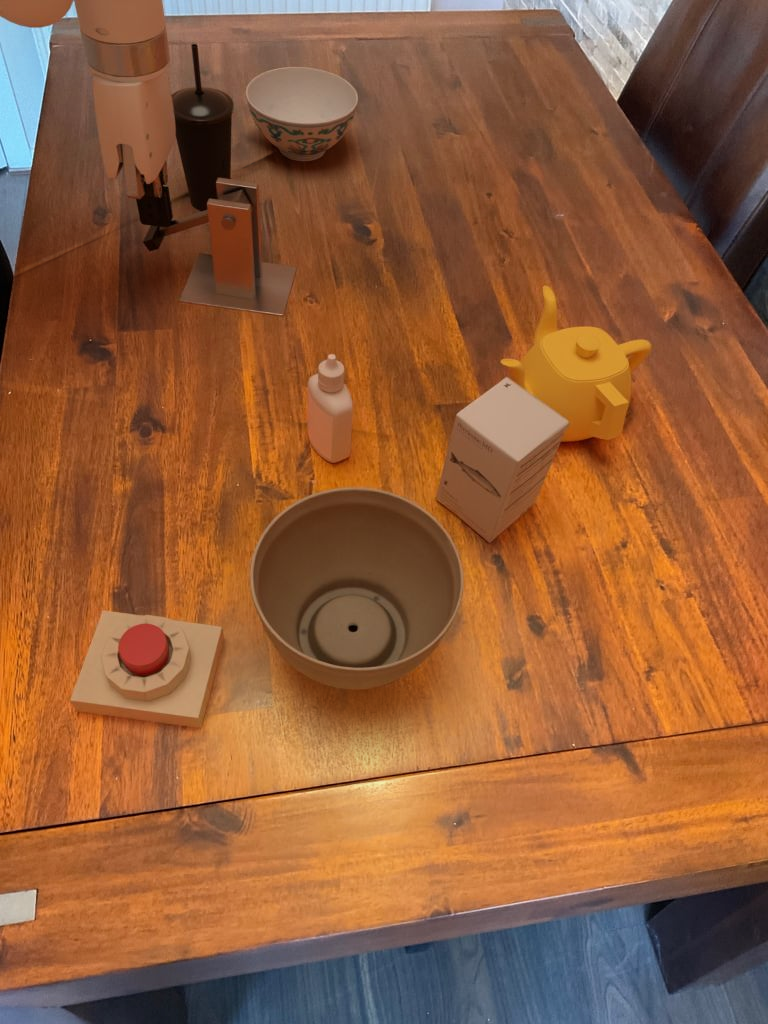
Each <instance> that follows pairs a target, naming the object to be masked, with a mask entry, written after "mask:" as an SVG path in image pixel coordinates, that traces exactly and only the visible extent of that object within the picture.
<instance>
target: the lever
mask: <svg viewBox="0 0 768 1024" xmlns="http://www.w3.org/2000/svg"><path fill="white" fill-rule="evenodd" d="M219 200H224V201H231V202H238V203H245V204H250V203H249V201H248V199H247V198H246V196H245V194H244V192H243V190H239V191H236V192H233V193H230V194H226V195H223V196H220V198H219ZM251 212H252V207H251ZM207 224H209V220H208V210H205V211H202V212H201V211H198V212H196V213H192V214H190V215H186V216H183V217H179V218H177V219H172V221H171V222H170V225H169V227H167V228H165V227H158V226H150V225H149V228H148V230H147V232H146V234H145V237H144V238H143V240H142V243H143V245H144V246H145V248H146V249H147V250H148V252H153V251H157V250H159V249H160V247H161V246H162V243H163V242H164V238H165V237H168V236H171V235H175V234H177V233H182V232H183V231H187V230H191V229H193V228H198V227H201V226H204V225H207Z"/></svg>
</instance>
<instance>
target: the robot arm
mask: <svg viewBox="0 0 768 1024" xmlns="http://www.w3.org/2000/svg"><path fill="white" fill-rule="evenodd" d="M73 3H74V7H75V12H76V17H77V21H78V26H79V31H80V36H81V40H82V44H83V45H82V46H83V49H84V53H85V54H84V55H85V58H86V63H87V68H88V70H90V72H91V73H92V74H93V75H92V94H93V107H94V114H95V115H94V116H95V123H96V128H97V136H98V142H99V146H100V147H99V148H100V153H101V157H102V164H103V169H104V173H105V175H106V177H107V178H108V179H109V180H116V179H118V176H119V174H120V172H121V171H122V169H123V174H124V183H125V184H124V185H125V190H126V191H125V193H126V197H127V198H128V199H135V202H136V206H137V211H138V216H139V217H138V218H139V222H140V223H141V224H142V225H144V226H149V227H150V226H158V227H165V228H167V227H169V225H170V222H171V221H173V218H174V215H173V208H172V201H171V196H170V189H169V186H167V185H168V182H169V175H168V165H167V164H168V163H167V159H168V157H169V156H170V154H171V153H170V152H171V150H172V148H173V146H174V144H175V140H176V127H175V116H174V109H173V102H172V96H171V95H172V92H171V91H172V90H171V86H170V81H169V75H168V71H169V69H170V68H171V65H172V64H171V63H172V62H171V55H170V54H171V53H170V48H169V40H168V39H169V38H168V33H167V32H168V31H167V25H166V17H165V8H164V2H163V0H0V17H1V18H3V19H4V20H6V21H8V22H10V23H11V24H15V25H17V26H19V27H26V28H31V29H36V28H37V29H38V28H39V29H41V28H45V27H46V28H47V27H49V26H52V25H54V24H56V23H58V22H60V21H61V20H62V19H63V18H64V17H65V16H67V14H68V12H69V11H70V9H71V8H72V6H73Z"/></svg>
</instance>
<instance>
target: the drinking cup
mask: <svg viewBox="0 0 768 1024" xmlns="http://www.w3.org/2000/svg"><path fill="white" fill-rule="evenodd" d="M190 45H191V55H192V64H193V65H192V66H193V75H194V84H195V85H194V86H192V87H185V88H182V89H179V90H177V91H175V92H173V93H171V96H172V102H173V109H174V116H175V127H176V136H175V140H176V143H177V148H178V152H179V158H180V161H181V165H182V170H183V175H184V178H185V183H186V188H187V192H188V196H189V201H190V204H191V206H192V207H193V208H194V209H195V210H197V211H198V212H202V211H205V210H207V202H208V200H209V199H216V200H218V199H217V189H216V181H217V179H218V178H225V179H231V177H232V176H231V175H232V173H231V171H232V122H233V121H232V119H233V118H232V117H233V116H232V115H233V113H234V110H235V103H234V101H233V99H232V97H231V96H230V95H229V94H227V93H226V92H224V91H222V90H219V89H217V88H213V87H207V86H202V76H201V75H202V74H201V67H200V56H199V46H198V44H196V43H192V44H190Z"/></svg>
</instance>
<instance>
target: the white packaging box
mask: <svg viewBox="0 0 768 1024" xmlns="http://www.w3.org/2000/svg"><path fill="white" fill-rule="evenodd" d="M568 425H569V421H568V420H567V419H565V418H564V417H562V416H561V415H560V414H558V413H557V412H555V411H554V410H553V409H551V408H550V407H548V406H547V405H546V404H544V403H543V402H541V401H540V400H539V399H538V398H536V397H535V396H533V395H532V394H530V393H529V392H527V391H526V390H524V389H523V388H522V387H520V386H519V385H518V384H516V383H515V382H513V381H512V380H511V379H510V378H509V376H505V377H504V378H503V379H502V380H499V382H498V383H496V384H495V385H493V386H492V387H491V388H490V389H488V390H487V391H485V392H484V393H482V394H481V395H480V396H479V397H477V398H476V399H474V400H473V401H472V402H470V403H469V404H468V405H466V406H465V407H464V408H463V409H461V410H459V411H458V412H457V413H456V415H455V419H454V422H453V427H452V431H451V435H450V438H449V442H448V447H447V450H446V455H445V459H444V463H443V467H442V471H441V475H440V480H439V483H438V488H437V492H436V496H435V500H436V501H437V502H438V503H440V504H441V505H443V506H444V507H445V508H447V509H448V510H449V511H450V512H452V513H453V514H455V515H456V516H457V517H458V518H459V519H460V520H462V521H463V522H464V523H465V524H466V525H467V526H469V527H470V528H471V529H472V530H474V531H475V532H476V534H478V535H479V536H480V537H481V538H483V539H484V540H485V541H486V542H487V543H488V544H491V543H492V542H493V541H495V539H496V538H498V537H499V536H500V535H501V534H502V533H503V532H504V531H506V530H507V529H508V528H509V527H511V525H513V524H514V523H515V522H516V521H517V520H519V518H521V517H522V516H523V515H525V513H526V512H527V511H529V510H530V509H531V508H532V507H533V506H534V505H535V503H536V501H537V499H538V497H539V494H540V492H541V490H542V488H543V485H544V483H545V481H546V478H547V475H548V474H549V472H550V469H551V466H552V464H553V462H554V458H555V457H556V454H557V452H558V449H559V447H560V444H561V443H562V442H561V440H562V437H563V435H564V433H565V431H566V429H567V427H568Z"/></svg>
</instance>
